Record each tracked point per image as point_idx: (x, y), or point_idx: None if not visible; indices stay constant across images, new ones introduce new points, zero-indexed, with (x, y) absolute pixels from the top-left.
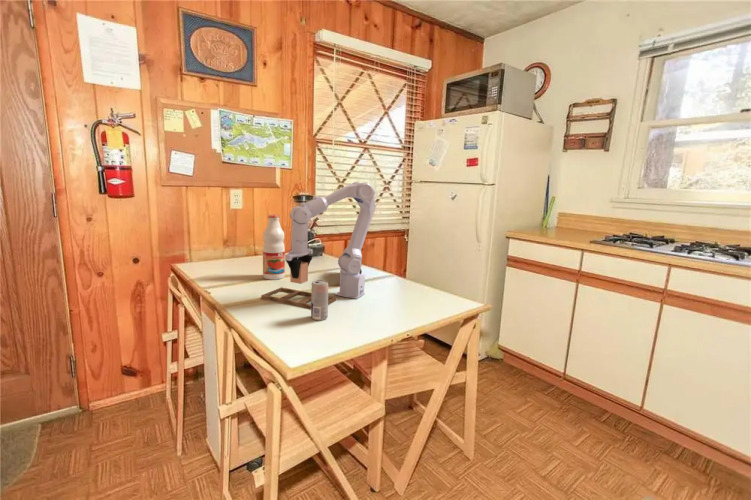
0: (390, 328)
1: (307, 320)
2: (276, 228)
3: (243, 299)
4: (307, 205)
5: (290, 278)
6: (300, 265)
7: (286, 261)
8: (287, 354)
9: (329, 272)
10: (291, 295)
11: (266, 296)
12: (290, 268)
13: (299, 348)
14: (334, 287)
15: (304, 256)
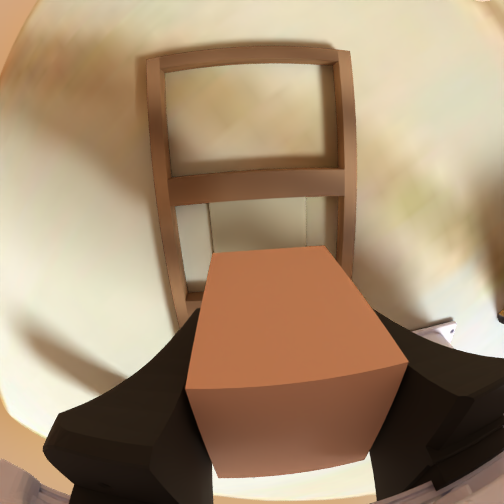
0: (214, 487)
1: (107, 387)
2: None
3: (98, 22)
4: None
5: (209, 267)
6: (216, 470)
7: (61, 418)
8: (13, 403)
9: None
10: (254, 199)
11: (147, 94)
12: (150, 369)
13: (32, 412)
14: (478, 267)
15: (414, 486)
